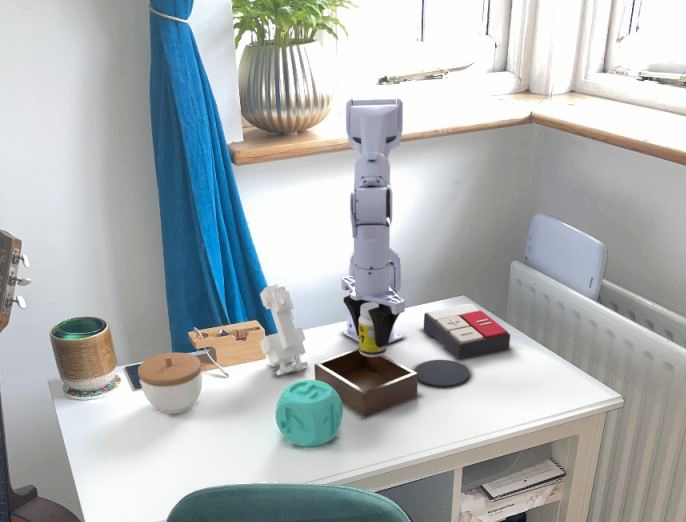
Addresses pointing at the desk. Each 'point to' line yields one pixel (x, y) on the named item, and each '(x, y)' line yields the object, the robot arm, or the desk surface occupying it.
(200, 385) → the trinket box
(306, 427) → the decorative dice
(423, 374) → the coaster
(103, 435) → the desk surface
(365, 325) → the supplement bottle
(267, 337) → the voxel character
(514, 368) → the desk surface
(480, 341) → the calculator
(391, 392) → the box
